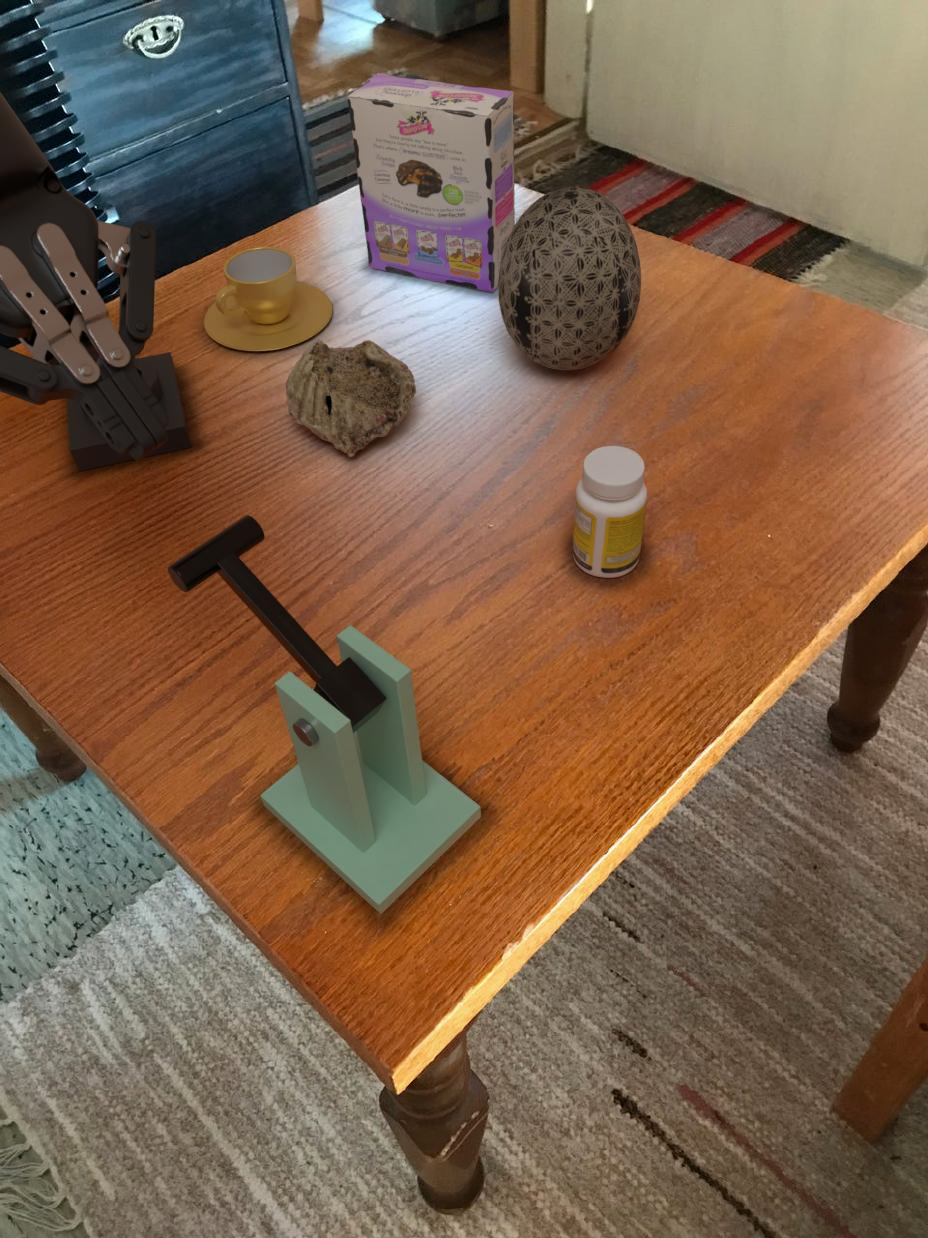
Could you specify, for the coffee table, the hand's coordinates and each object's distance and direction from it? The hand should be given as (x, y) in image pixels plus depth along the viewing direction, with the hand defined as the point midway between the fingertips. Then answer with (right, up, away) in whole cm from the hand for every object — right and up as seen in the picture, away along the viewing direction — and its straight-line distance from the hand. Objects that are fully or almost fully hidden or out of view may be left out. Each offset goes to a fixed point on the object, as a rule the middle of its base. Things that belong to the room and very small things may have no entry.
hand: (153, 448), depth 48 cm
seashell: (+6, +8, +34) cm, 35 cm away
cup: (-3, +20, +45) cm, 49 cm away
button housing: (-13, +8, +35) cm, 38 cm away
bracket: (+10, -19, +9) cm, 24 cm away
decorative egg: (+24, +14, +39) cm, 48 cm away
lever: (+6, -9, +3) cm, 11 cm away
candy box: (+13, +26, +50) cm, 58 cm away
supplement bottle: (+25, -4, +22) cm, 34 cm away
